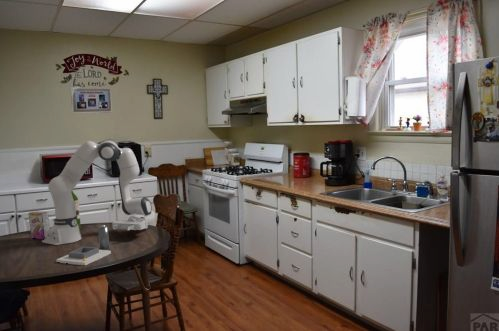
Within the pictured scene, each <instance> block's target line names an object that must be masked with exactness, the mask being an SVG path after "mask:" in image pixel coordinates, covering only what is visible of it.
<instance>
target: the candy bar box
mask: <svg viewBox="0 0 499 331" xmlns="http://www.w3.org/2000/svg"><path fill="white" fill-rule="evenodd" d="M27 215H28V223H29V229H30V239H31V238H36V239H35V240H43V239H46V232H47V231H48V230H49V229H50V228H51V226H50V217H49V211H42V210H41V211H40V210H39V211H38V210H34V211H30V212H28V214H27Z"/></svg>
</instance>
